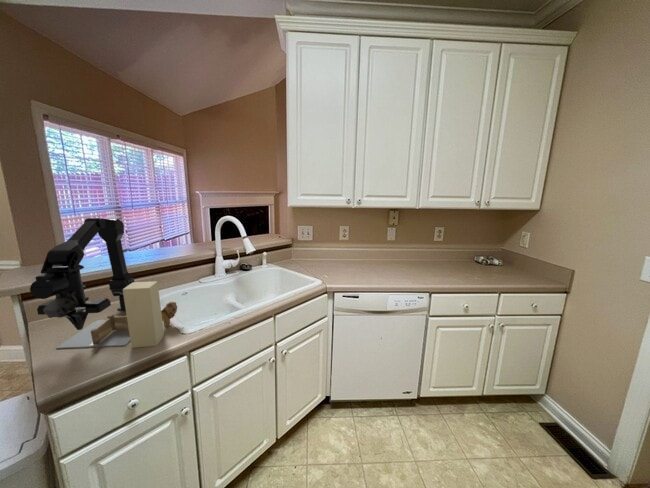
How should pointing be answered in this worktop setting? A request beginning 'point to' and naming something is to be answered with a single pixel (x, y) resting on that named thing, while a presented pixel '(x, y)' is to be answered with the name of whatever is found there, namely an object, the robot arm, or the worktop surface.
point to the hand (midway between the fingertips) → (80, 329)
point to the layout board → (112, 339)
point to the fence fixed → (118, 322)
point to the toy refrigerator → (143, 313)
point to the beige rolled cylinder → (101, 331)
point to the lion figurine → (169, 313)
